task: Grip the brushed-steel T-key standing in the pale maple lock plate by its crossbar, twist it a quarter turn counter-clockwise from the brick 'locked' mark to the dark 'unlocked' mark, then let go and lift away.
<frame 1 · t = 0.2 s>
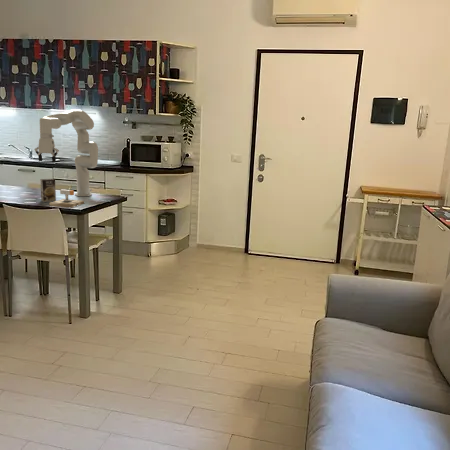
hand: (47, 161, 324), 30 cm above the table, tool pointing down, fingers open, 9 cm apart
coffee box: (48, 201, 344), on the table
key plate: (67, 204, 334), on the table
t key: (67, 195, 333), point 7 cm above the table, hinge at 0.0°
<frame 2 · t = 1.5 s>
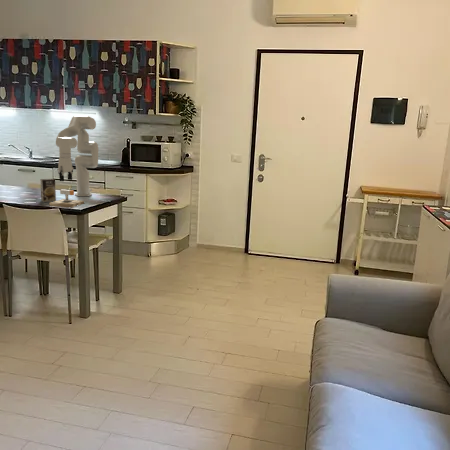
hand: (66, 180, 330), 17 cm above the table, tool pointing down, fingers open, 9 cm apart
nothing on the table moved.
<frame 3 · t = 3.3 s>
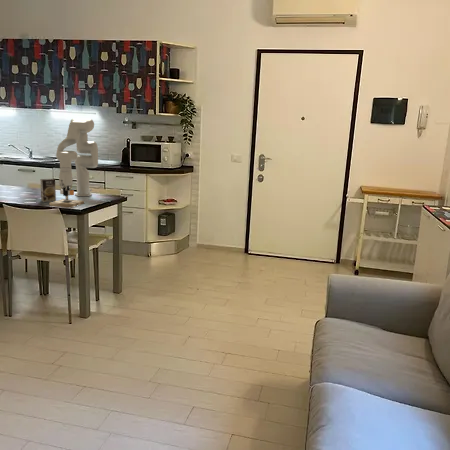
hand: (66, 195, 333), 7 cm above the table, tool pointing down, fingers closed on t key, 2 cm apart
t key: (67, 195, 333), point 7 cm above the table, hinge at 0.0°, touching gripper
everything else where it was.
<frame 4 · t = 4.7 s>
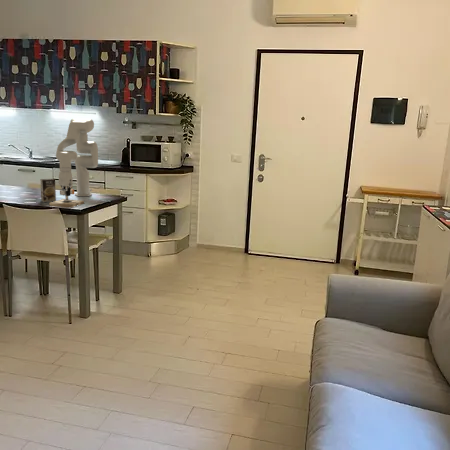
hand: (66, 195, 333), 7 cm above the table, tool pointing down, fingers closed on t key, 3 cm apart
t key: (67, 195, 333), point 7 cm above the table, hinge at 55.2°, touching gripper
everything else where it was.
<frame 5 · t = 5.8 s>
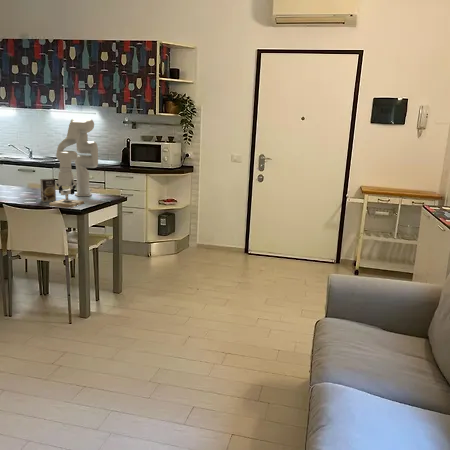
hand: (66, 193, 333), 8 cm above the table, tool pointing down, fingers open, 9 cm apart
t key: (67, 195, 333), point 7 cm above the table, hinge at 79.7°
everything else where it was.
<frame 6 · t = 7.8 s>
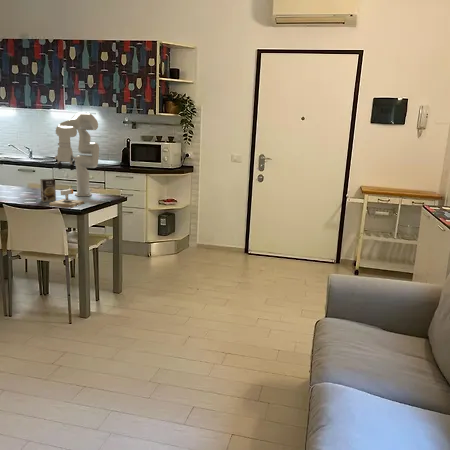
hand: (66, 169, 333), 24 cm above the table, tool pointing down, fingers open, 9 cm apart
nothing on the table moved.
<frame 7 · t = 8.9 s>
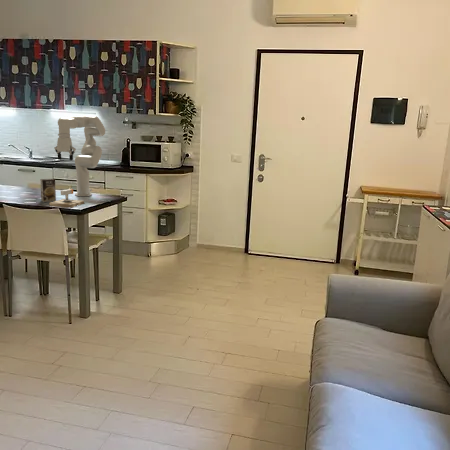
hand: (65, 159, 342), 30 cm above the table, tool pointing down, fingers open, 9 cm apart
nothing on the table moved.
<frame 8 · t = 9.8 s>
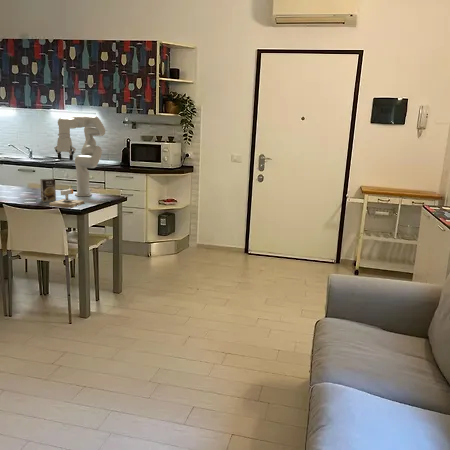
hand: (65, 159, 342), 30 cm above the table, tool pointing down, fingers open, 9 cm apart
nothing on the table moved.
at the end: t key at +80° (first picture: +0°); the gripper is holding nothing; coffee box moved 0.2 cm from its start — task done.
